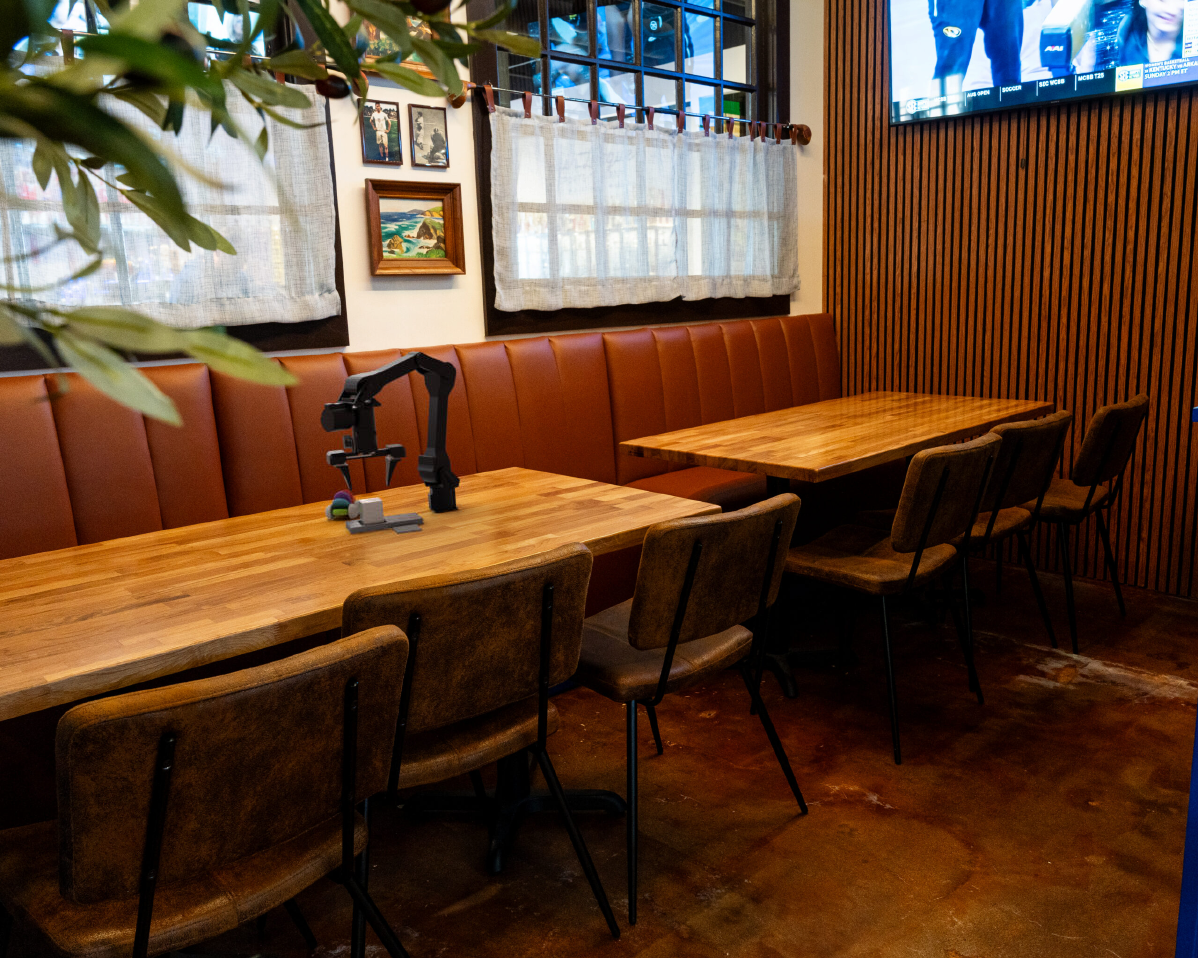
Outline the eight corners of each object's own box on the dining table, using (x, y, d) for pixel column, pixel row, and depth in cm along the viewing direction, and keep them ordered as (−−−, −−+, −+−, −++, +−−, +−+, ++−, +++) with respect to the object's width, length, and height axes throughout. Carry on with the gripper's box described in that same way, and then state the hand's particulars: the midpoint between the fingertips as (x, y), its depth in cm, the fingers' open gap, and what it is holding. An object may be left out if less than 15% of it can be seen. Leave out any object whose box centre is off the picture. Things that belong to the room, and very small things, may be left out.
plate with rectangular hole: (415, 517, 256) (415, 512, 256) (423, 524, 249) (422, 518, 249) (345, 527, 249) (345, 521, 249) (351, 533, 242) (350, 527, 242)
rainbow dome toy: (366, 512, 265) (364, 486, 264) (354, 521, 256) (352, 494, 255) (336, 513, 266) (333, 487, 265) (323, 521, 257) (320, 494, 255)
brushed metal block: (380, 524, 251) (378, 497, 250) (384, 528, 247) (382, 500, 245) (360, 526, 249) (358, 499, 248) (364, 530, 245) (362, 503, 243)
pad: (416, 525, 248) (415, 523, 248) (421, 530, 242) (421, 528, 242) (392, 528, 245) (392, 527, 245) (397, 533, 240) (397, 532, 240)
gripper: (394, 419, 254) (399, 478, 257) (320, 426, 247) (326, 487, 250) (404, 424, 244) (409, 485, 247) (327, 431, 237) (333, 495, 240)
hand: (369, 488), depth 246 cm, fingers open, 9 cm apart
